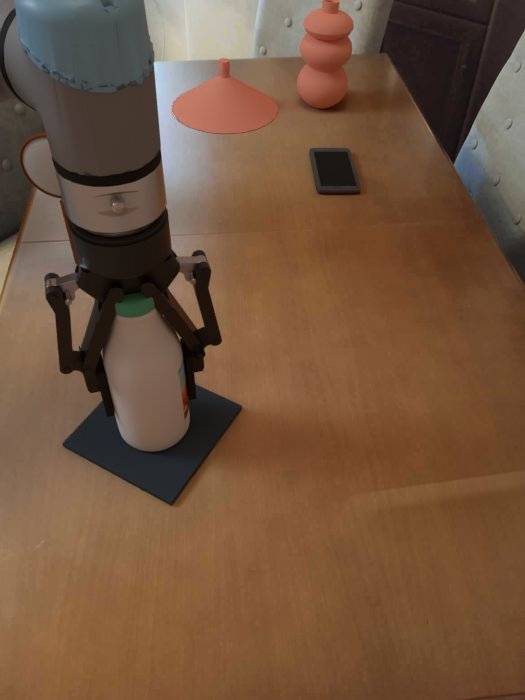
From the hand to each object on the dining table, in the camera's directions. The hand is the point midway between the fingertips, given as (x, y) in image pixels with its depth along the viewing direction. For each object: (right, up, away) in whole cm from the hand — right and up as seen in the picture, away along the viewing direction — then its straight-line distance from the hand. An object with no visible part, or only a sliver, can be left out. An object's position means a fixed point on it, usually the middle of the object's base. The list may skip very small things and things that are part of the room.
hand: (150, 397), depth 62 cm
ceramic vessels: (+11, +54, +58) cm, 79 cm away
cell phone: (+24, +36, +41) cm, 59 cm away
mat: (0, -4, +4) cm, 5 cm away
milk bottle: (0, -3, +4) cm, 5 cm away
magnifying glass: (-14, +16, +22) cm, 31 cm away
